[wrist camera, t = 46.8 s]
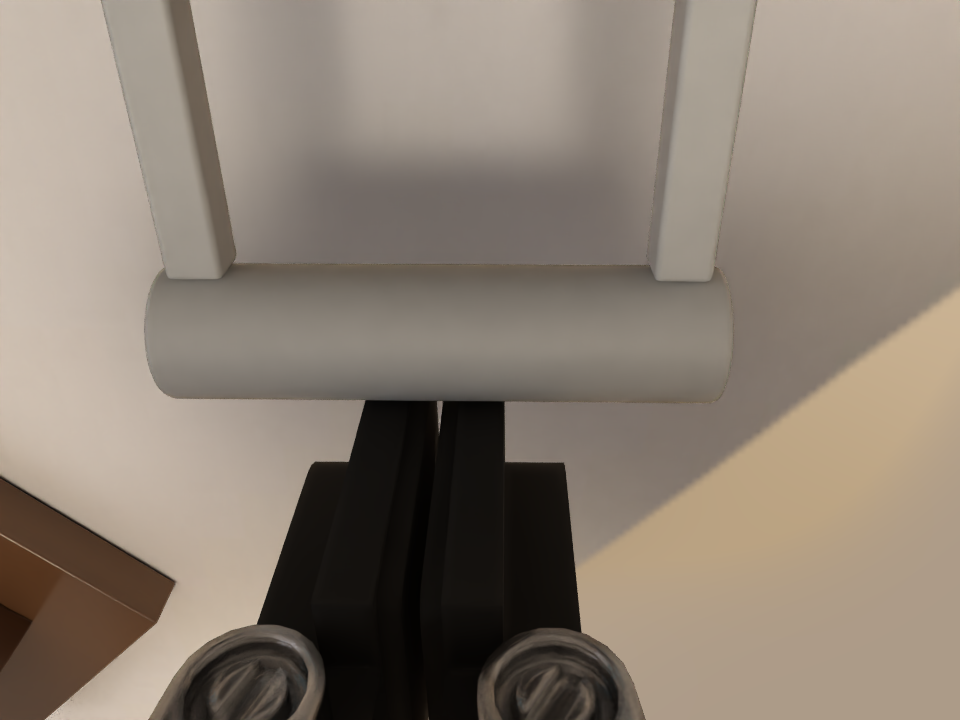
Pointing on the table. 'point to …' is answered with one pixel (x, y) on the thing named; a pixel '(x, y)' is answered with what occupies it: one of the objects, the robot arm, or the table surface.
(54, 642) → the stand
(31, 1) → the table surface
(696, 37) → the drawer
